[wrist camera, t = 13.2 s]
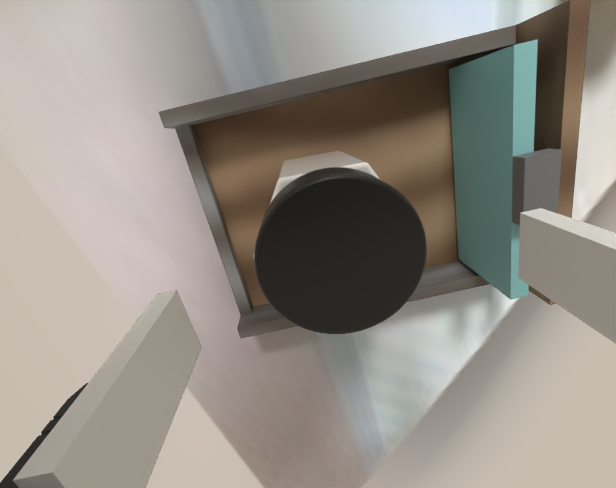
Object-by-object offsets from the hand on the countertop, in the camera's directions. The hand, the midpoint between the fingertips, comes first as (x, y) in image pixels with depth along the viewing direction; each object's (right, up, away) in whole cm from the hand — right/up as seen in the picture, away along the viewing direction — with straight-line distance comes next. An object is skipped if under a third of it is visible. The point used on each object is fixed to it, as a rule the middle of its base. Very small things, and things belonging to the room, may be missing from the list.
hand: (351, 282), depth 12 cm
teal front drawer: (+2, +6, +15) cm, 16 cm away
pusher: (+11, +7, +13) cm, 19 cm away
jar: (-1, +5, +14) cm, 15 cm away
